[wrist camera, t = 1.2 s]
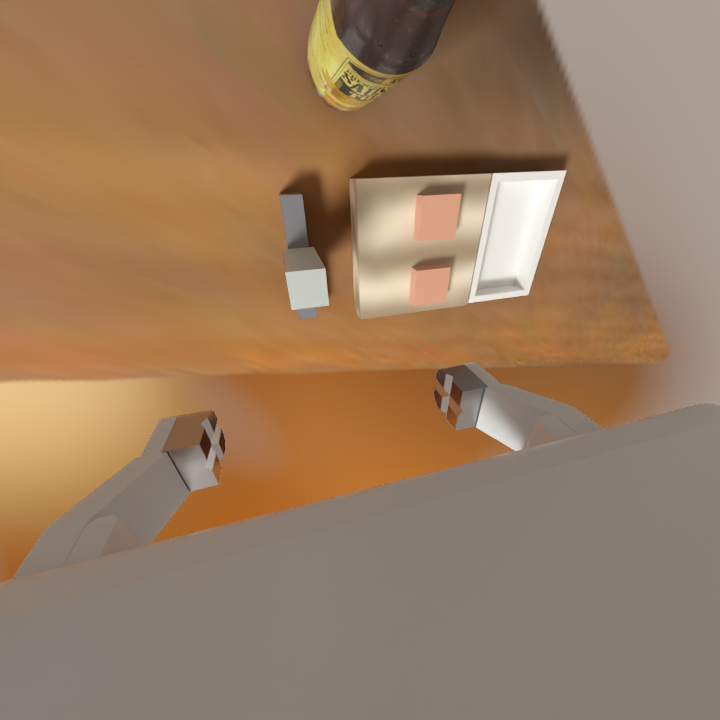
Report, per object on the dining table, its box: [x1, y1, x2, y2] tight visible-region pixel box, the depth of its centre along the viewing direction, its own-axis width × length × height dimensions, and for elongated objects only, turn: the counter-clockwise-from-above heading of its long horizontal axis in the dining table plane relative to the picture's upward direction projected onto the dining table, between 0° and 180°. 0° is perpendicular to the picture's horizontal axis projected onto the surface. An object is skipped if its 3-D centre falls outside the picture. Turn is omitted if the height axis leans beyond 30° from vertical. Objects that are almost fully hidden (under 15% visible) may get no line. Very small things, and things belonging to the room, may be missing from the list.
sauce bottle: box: [307, 0, 455, 112], centre depth 16 cm, size 7×6×20 cm
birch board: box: [349, 174, 492, 319], centre depth 32 cm, size 14×14×3 cm
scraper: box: [279, 193, 329, 319], centre depth 27 cm, size 12×3×11 cm, turn 2°
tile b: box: [409, 264, 451, 306], centre depth 33 cm, size 4×4×2 cm
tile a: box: [413, 193, 461, 241], centre depth 29 cm, size 4×4×2 cm
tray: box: [468, 170, 567, 303], centre depth 35 cm, size 14×9×2 cm, turn 2°
